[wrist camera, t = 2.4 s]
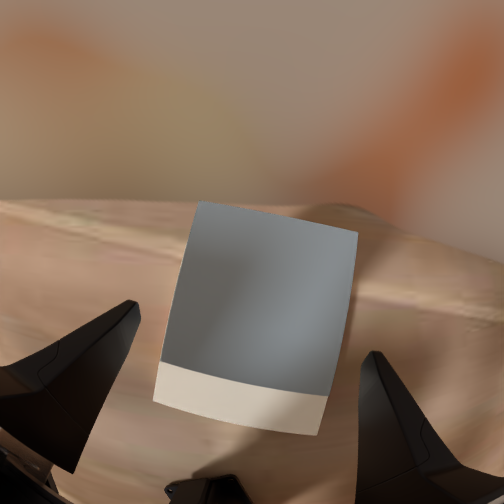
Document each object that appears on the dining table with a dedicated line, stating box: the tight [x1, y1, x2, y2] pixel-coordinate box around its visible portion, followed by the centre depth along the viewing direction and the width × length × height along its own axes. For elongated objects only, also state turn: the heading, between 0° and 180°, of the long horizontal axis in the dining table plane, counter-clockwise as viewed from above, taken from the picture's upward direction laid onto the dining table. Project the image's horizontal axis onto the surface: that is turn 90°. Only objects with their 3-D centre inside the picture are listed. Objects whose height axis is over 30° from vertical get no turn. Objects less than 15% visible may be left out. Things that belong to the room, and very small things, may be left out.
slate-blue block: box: [160, 201, 358, 396], centre depth 13 cm, size 5×5×11 cm
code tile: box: [153, 244, 328, 436], centre depth 18 cm, size 12×12×1 cm
